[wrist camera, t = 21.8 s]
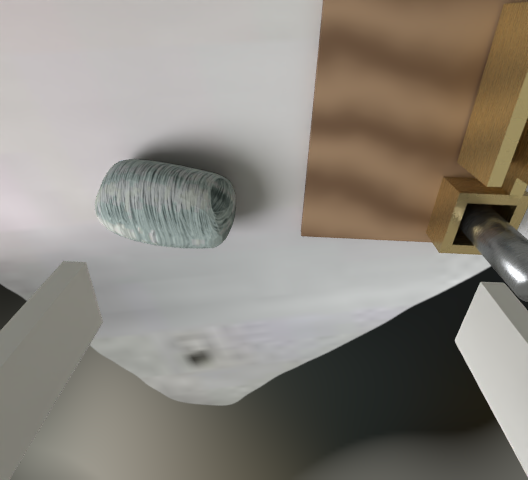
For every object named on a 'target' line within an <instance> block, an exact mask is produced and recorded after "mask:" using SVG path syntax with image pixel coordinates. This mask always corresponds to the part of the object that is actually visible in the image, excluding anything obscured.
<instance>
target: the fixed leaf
mask: <svg viewBox="0 0 528 480" xmlns="http://www.w3.org/2000/svg"><path fill="white" fill-rule="evenodd" d="M527 185H528V118H527V120H526V123H525V126H524V128H523V131H522V134H521V136H520V139H519V142H518V144H517V147H516V150H515V152H514V155H513V158H512V160H511V163H510V166H509V168H508V171H507V174H506V176H505V179H504V181H503V184H502V187H486V186H485V185H484V184H483V183H482V182H480V181H479V180H478V179H477V178H462V177H443V179H442V182H441V185H440V188H439V192H438V195H437V198H436V201H435V204H434V208H433V211H432V214H431V217H430V221H429V224H428V227H427V230H426V234H427V235H428V237H429V238H430V240H431V241H432V243H433V244H434V246H435V247H436V249H437V250H438V252H439V253H457V254H478V255H482V254H481V253H480V252H479V251H478V249H477V248H476V247H475V246H474V245H473V244H472V242H471V241H470V240H469V239H468V238H467V236H466V235H465V234H464V233H463V232H462V231H461V229H460V228H459V225H460V222H461V219H462V216H463V214H464V211H465V208H466V205H467V203H473V204H489V206H490V207H491V208H493V209H494V210H495V211H496V212H497V213H498V214H499V215H500V216H502V217H503V218H504V219H505V220H506V221H507V222H508V223H509V224H511V225H512V226H513V227H514V228H515V229H516V230H517V229H518V227H519V225H520V223H521V220H522V218H523V216H524V214H525V212H526V210H527V207H528V192H526V191H525V190H526V187H527Z"/></svg>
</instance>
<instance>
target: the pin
mask: <svg viewBox="0 0 528 480" xmlns="http://www.w3.org/2000/svg"><path fill="white" fill-rule="evenodd" d="M459 228H460V229H461V231H462V232H463V233H464V234H465V235H466V236H467V238H468V239H469V240H470V241H471V242H472V244H473V245H474V246H475V247H476V248H477V249H478V251H479V252H480V253H481V254H482V255H483V256H484V258H485V259H486V260H487V261H488V262H489V263H490V265H491V266H492V267H493V268H494V269H495V270H496V272H497V273H498V274H499V275H500V276H501V277H502V279H503V280H504V281H505V282H506V283H507V284H508V286H509V287H510V288H511V289H512V290H513V291H514V293H515V294H516V295H517V296H518V297H519V298H520V299H522V300H523V301H527V302H528V240H527V239H526V238H525V237H524V236H523V235H522V234H521V233H519V232H518V231H517V230H516V229H515V228H514V227H513V226H512V225H511V224H509V223H508V222H507V221H506V220H505V219H504V218H503V217H502V216H500V215H499V214H498V213H497V212H496V211H495V210H494V209H493V208H491V207H490V206H489V205H488V204H473V203H467V205H466V208H465V211H464V214H463V216H462V219H461V222H460V225H459Z"/></svg>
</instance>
